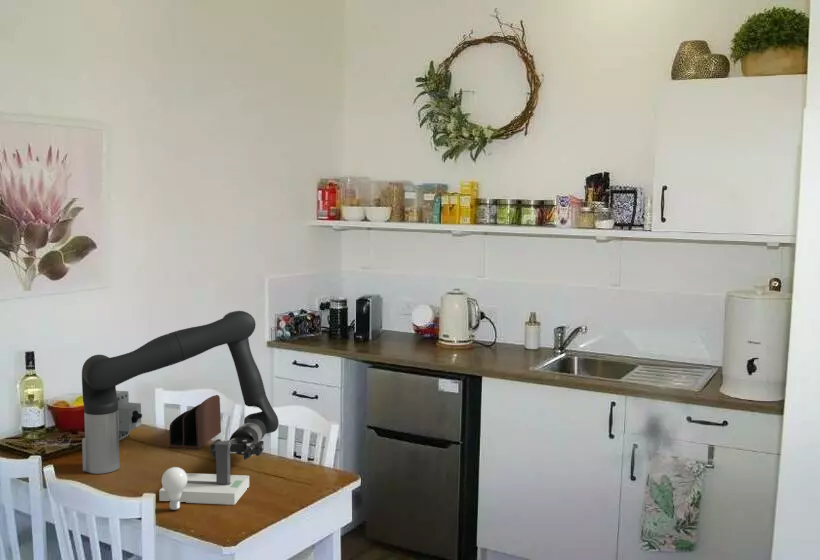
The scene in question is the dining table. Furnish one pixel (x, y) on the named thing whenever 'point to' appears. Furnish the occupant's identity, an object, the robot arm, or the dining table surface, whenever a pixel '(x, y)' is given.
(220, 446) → the handle
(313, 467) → the dining table surface
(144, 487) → the dining table surface
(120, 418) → the circuit breaker
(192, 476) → the breaker panel
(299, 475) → the dining table surface
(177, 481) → the lightbulb
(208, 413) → the letter holder
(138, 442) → the dining table surface
